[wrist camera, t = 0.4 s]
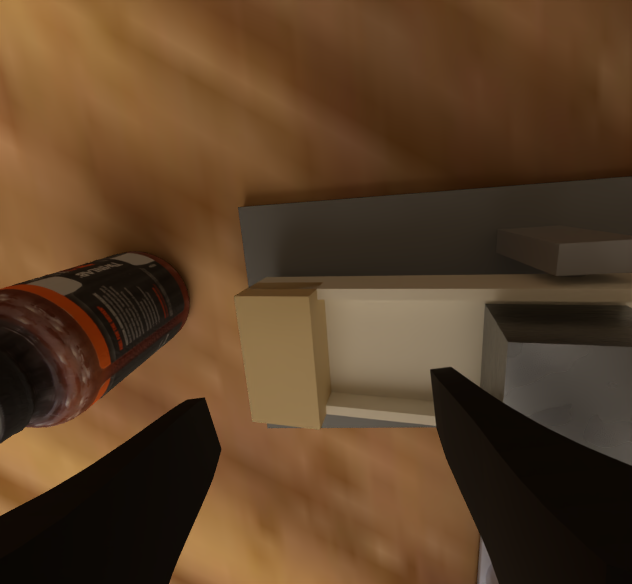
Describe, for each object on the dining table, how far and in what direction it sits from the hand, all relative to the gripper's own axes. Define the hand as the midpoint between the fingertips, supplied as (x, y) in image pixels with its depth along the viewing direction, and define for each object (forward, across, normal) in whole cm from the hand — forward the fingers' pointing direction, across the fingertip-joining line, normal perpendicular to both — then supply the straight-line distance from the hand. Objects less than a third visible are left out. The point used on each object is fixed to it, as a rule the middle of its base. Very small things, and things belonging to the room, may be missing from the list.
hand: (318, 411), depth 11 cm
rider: (+5, -9, +2) cm, 11 cm away
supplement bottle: (+11, +11, -2) cm, 16 cm away
